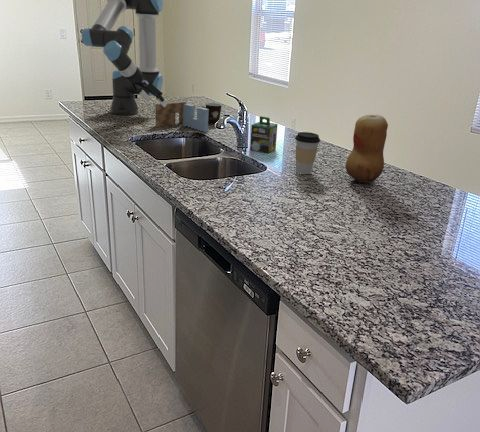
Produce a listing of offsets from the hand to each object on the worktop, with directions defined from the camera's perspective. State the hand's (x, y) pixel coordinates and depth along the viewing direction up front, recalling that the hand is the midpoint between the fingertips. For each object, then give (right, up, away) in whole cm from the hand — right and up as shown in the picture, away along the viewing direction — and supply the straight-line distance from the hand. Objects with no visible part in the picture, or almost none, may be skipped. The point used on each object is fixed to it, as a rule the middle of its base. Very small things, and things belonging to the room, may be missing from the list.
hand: (157, 102), depth 228 cm
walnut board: (+5, -8, +12) cm, 15 cm away
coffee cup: (+65, -39, -49) cm, 90 cm away
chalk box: (+51, -26, -21) cm, 61 cm away
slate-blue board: (+18, -11, +7) cm, 22 cm away
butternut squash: (+86, -43, -54) cm, 110 cm away
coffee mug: (+24, -6, +22) cm, 33 cm away
